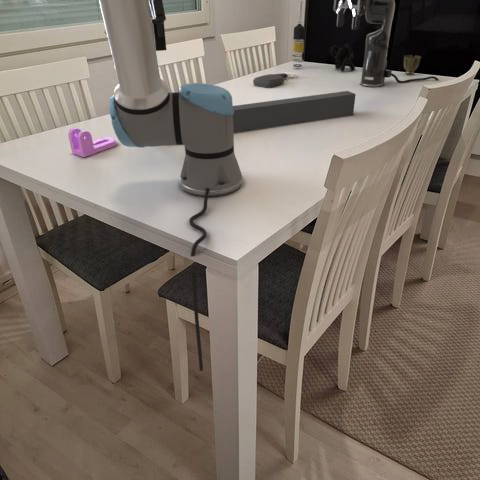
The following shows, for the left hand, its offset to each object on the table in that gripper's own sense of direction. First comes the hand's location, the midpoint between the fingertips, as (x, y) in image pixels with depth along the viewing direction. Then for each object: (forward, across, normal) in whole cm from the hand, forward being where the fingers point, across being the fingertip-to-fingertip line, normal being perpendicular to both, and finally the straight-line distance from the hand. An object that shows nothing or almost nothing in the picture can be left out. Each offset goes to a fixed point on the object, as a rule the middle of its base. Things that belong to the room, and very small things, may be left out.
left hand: (155, 47), depth 123 cm
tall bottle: (+25, +78, -88) cm, 120 cm away
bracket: (+27, +2, +20) cm, 34 cm away
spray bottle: (+26, +56, -66) cm, 90 cm away
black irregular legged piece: (+25, +64, -107) cm, 127 cm away
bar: (+27, +1, -32) cm, 41 cm away
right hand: (-1, 0, -63) cm, 63 cm away
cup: (+26, +42, -128) cm, 137 cm away
